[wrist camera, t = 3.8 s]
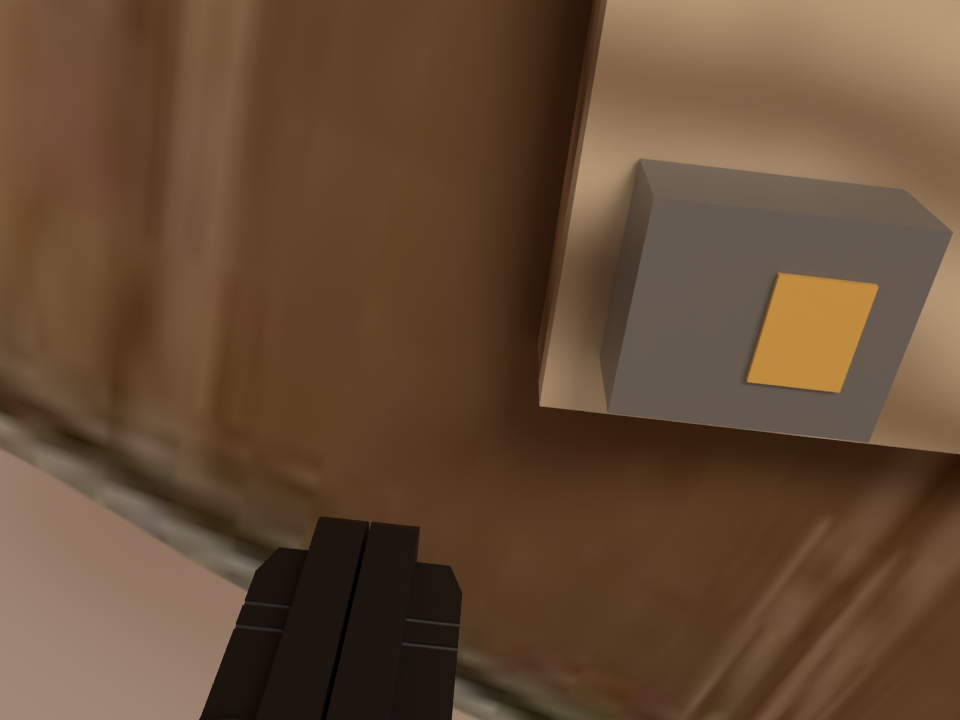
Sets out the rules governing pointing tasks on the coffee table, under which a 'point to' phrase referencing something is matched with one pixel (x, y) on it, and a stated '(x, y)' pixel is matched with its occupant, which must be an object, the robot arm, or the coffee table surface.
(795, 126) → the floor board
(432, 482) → the coffee table surface
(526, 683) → the coffee table surface
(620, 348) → the grey box
